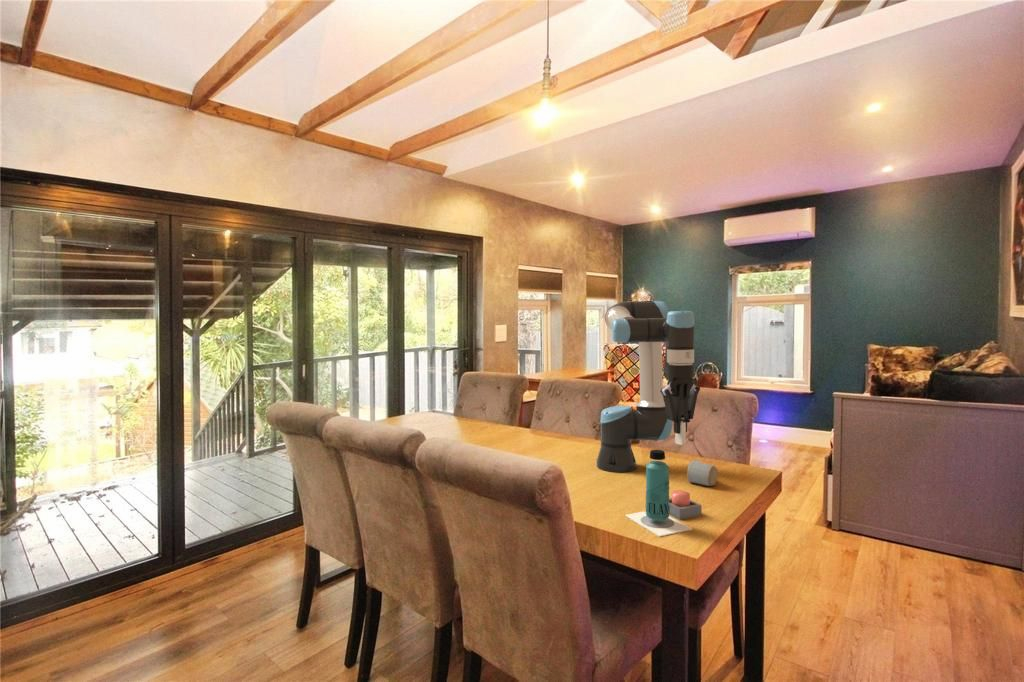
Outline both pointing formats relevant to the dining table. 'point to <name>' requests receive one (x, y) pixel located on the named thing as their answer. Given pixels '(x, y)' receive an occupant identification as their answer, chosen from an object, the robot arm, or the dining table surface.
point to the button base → (685, 510)
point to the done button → (680, 498)
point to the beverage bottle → (657, 487)
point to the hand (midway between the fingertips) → (680, 443)
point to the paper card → (658, 524)
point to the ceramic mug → (702, 473)
